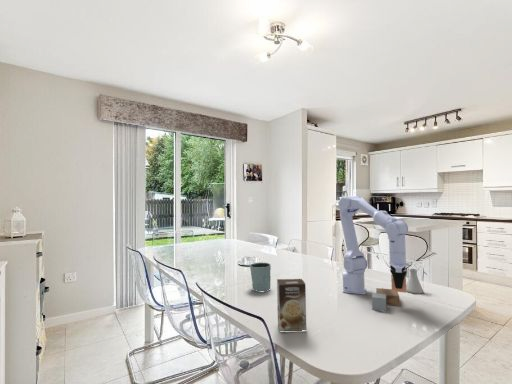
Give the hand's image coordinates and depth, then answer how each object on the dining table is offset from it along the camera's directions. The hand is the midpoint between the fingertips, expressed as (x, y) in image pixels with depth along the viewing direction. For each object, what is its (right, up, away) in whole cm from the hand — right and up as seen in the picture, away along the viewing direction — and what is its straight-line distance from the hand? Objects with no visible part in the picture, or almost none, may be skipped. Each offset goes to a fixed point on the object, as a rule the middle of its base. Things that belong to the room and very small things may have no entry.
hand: (398, 286), depth 111 cm
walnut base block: (-1, -9, +7) cm, 11 cm away
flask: (+15, -8, +17) cm, 24 cm away
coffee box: (-44, -10, -15) cm, 47 cm away
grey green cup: (-54, -11, +26) cm, 61 cm away
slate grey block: (-8, -9, 0) cm, 12 cm away
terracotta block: (0, -1, 0) cm, 1 cm away
